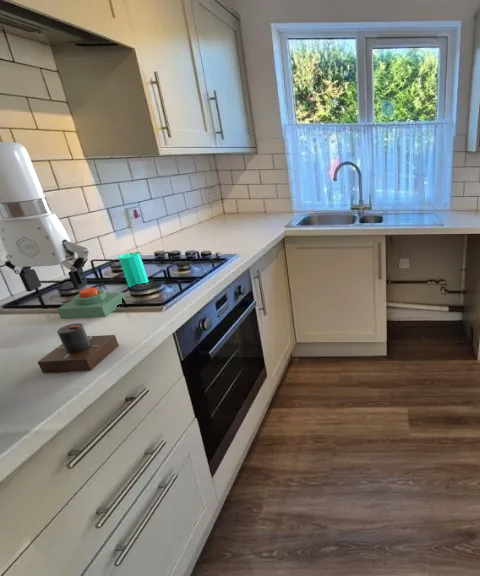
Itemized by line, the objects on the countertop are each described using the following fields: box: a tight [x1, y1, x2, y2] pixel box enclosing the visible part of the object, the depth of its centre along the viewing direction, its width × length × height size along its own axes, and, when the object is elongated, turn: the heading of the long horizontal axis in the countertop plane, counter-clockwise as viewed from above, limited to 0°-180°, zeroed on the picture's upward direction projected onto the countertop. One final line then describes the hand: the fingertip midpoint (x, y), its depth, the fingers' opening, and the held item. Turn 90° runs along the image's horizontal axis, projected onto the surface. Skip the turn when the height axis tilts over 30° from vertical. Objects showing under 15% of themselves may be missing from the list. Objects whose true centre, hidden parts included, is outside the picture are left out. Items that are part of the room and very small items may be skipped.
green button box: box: [56, 289, 127, 320], centre depth 104 cm, size 12×10×5 cm
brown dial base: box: [37, 334, 120, 374], centre depth 82 cm, size 10×10×3 cm
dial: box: [57, 322, 90, 353], centre depth 80 cm, size 4×4×5 cm
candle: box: [118, 249, 149, 288], centre depth 121 cm, size 6×6×12 cm
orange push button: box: [78, 286, 98, 298], centre depth 103 cm, size 4×4×2 cm
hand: (58, 287), depth 79 cm, fingers open, 9 cm apart
